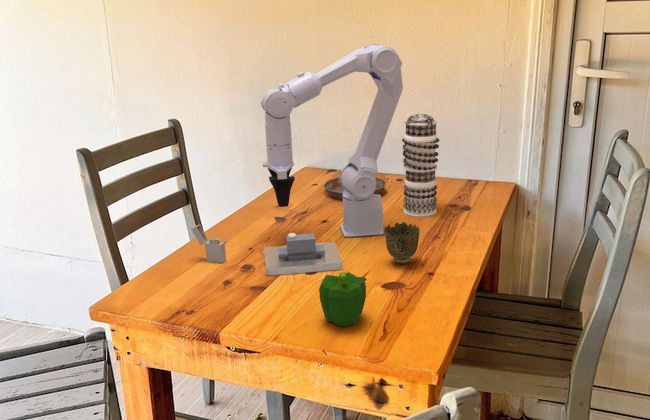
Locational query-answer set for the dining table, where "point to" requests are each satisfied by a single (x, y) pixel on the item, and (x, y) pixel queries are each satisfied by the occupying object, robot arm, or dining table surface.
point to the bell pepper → (342, 298)
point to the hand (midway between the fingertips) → (282, 201)
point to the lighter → (210, 246)
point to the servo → (300, 247)
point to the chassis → (302, 261)
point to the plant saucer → (337, 189)
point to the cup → (402, 241)
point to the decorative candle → (420, 165)
